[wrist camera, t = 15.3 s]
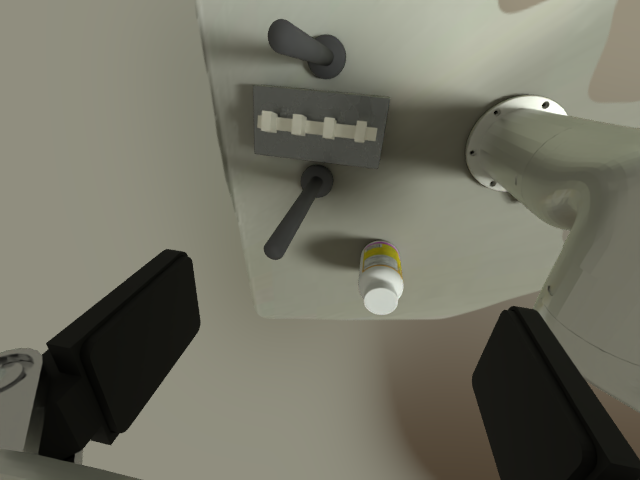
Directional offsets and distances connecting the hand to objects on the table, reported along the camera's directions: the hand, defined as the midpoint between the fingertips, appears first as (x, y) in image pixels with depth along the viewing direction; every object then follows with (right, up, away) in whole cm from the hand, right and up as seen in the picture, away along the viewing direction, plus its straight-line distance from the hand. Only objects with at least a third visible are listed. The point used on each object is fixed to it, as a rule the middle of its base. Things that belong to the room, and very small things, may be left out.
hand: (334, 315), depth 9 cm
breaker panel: (0, +19, +36) cm, 41 cm away
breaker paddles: (-1, +17, +32) cm, 37 cm away
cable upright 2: (-1, +12, +40) cm, 42 cm away
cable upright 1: (+1, +27, +32) cm, 42 cm away
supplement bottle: (+10, 0, +45) cm, 46 cm away
